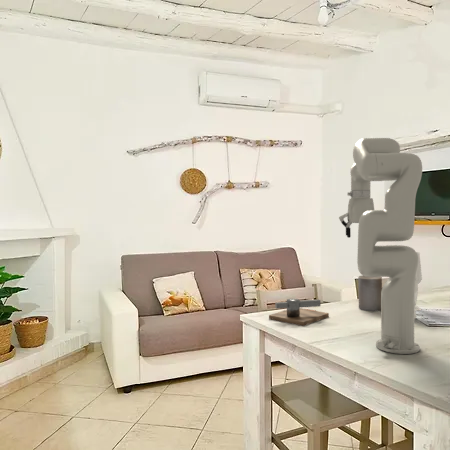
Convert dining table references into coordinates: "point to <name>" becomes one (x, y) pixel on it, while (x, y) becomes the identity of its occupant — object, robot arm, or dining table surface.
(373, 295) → the pillar candle
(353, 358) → the dining table surface
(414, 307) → the beer glass
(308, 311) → the dial stand
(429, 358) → the dining table surface
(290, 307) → the capstan
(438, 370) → the dining table surface
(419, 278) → the champagne flute
